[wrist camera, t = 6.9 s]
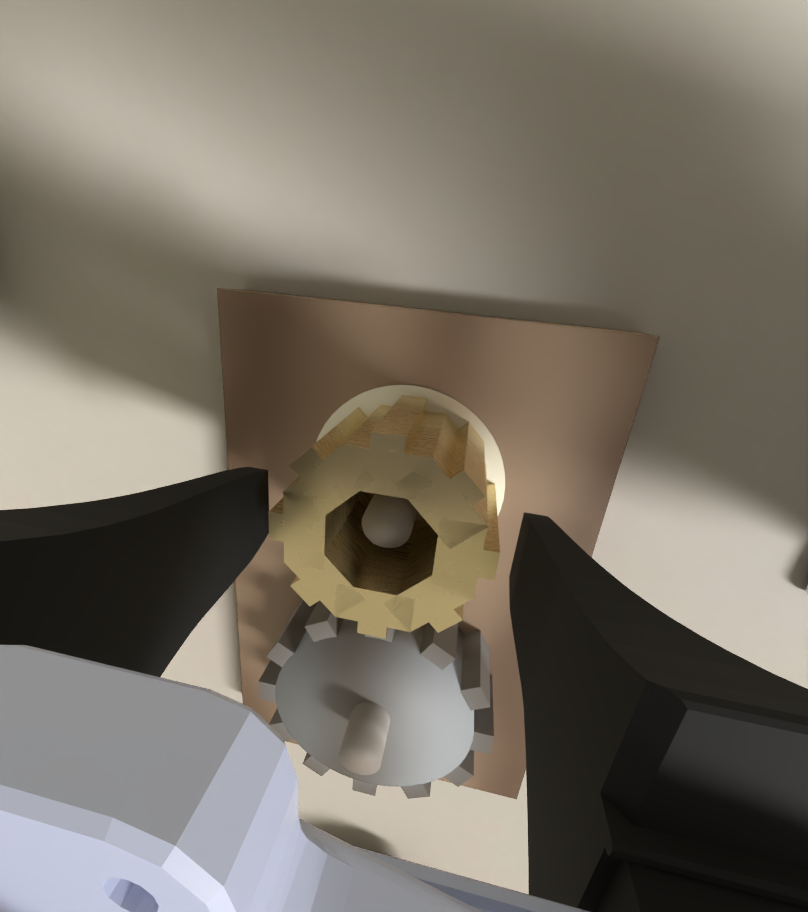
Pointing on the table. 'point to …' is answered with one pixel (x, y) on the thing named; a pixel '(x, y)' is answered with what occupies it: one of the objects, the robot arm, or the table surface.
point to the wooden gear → (399, 475)
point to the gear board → (415, 518)
